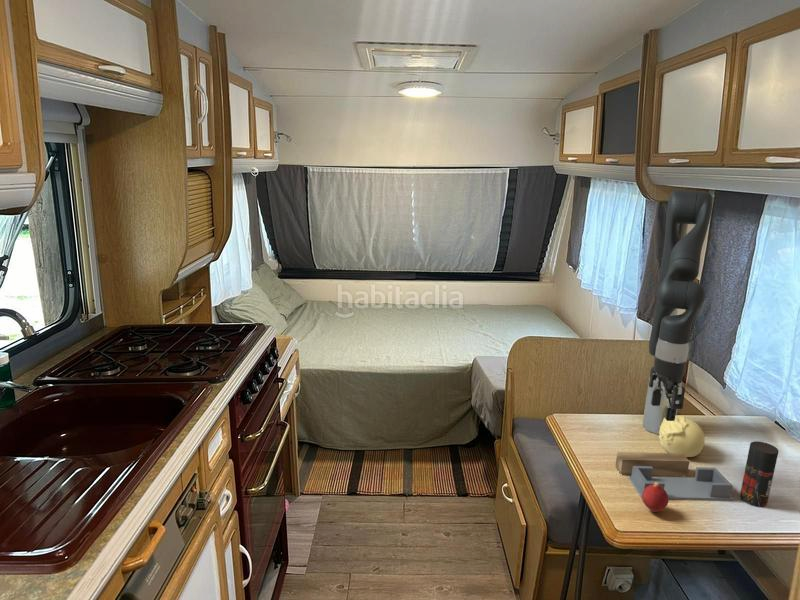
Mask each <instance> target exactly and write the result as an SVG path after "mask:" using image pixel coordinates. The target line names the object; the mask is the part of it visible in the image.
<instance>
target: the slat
mask: <svg viewBox="0 0 800 600" xmlns="http://www.w3.org/2000/svg"><path fill="white" fill-rule="evenodd" d="M614 465H615V469H616V470H617V472H618V471H619V472H618V473H619V475H620V474H622V475H621V476H631V475H632V468H633V466H652V468H653V472H652V475H654V476H653V477H678V476H682V477H683V476H686V478H688V472H689V466H690V460H689V459H688V457H685V456H684V455H683V453H669V452H645V451H643V452H640V451H617V452H616V458H615V464H614Z"/></svg>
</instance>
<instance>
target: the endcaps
mask: <svg viewBox="0 0 800 600" xmlns="http://www.w3.org/2000/svg"><path fill="white" fill-rule="evenodd" d="M652 472H653V468H652V466H633V468H632V475H628V476H627V477H628V478H629V479H628V480H629V481H630V483H631V484H632V486H633V487H634V489H635V491H636V492H637V493H638V495H639V496H640V498H641V499H642V493H643V491H644V489H645V488H646V487H647V486H649V485H653V484H654V482H657V483H658V484H659V485H660V486H661V487H662V488H663V489H664V490H665V491H666V493H667V495H668V500H688V501H689V500H690V501H692V500H693V501H697V500H698V501H729V502H731V501H732V502H733V501H734V498H733V497H732V495H731V494H732V489H733V484H732V483H731V482H730V481H729V480H728V479H727V478H726V477H725V475H724V474H722V472H720V471H719V470H718V468H716V467H706V466H705V467H702V466H701V467H698V466H697V467H696V468H695V473H694V474H695V475H694V477H678V476H652Z"/></svg>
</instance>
